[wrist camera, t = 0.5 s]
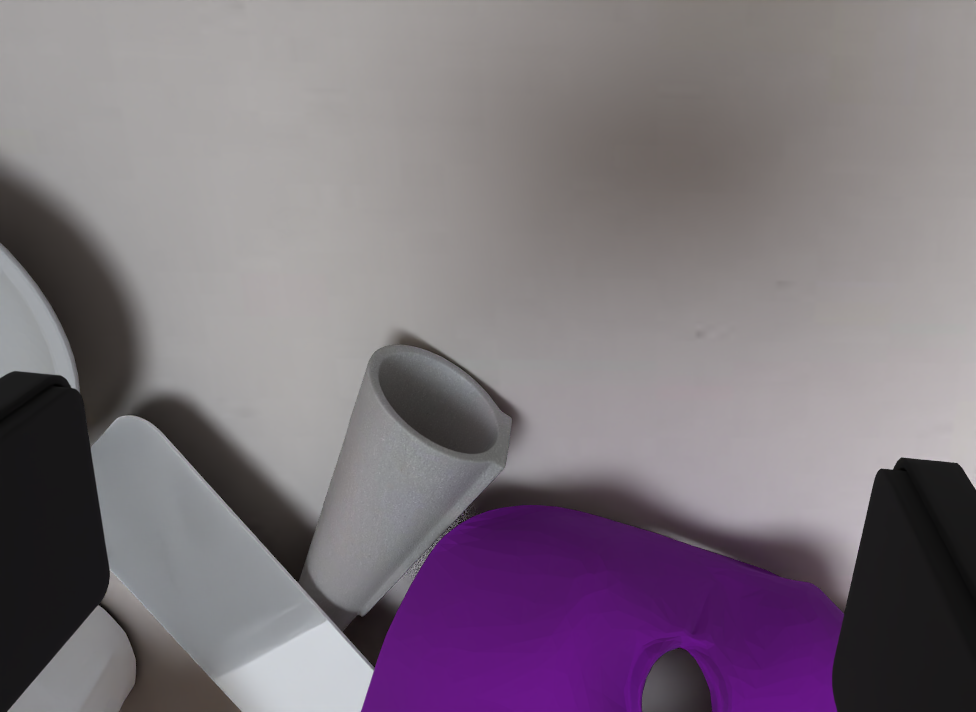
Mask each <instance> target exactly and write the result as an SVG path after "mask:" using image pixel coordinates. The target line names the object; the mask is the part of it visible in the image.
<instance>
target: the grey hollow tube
mask: <svg viewBox="0 0 976 712" xmlns="http://www.w3.org/2000/svg"><path fill="white" fill-rule="evenodd" d="M511 425H512V418H511V417H510V416H508V415H506V414H505V413H503V412H502V411H501V410H500V409H499V408H498V406H497V405H496V404H495V402H494V401H493V400H492V398H491V397H490V396H489V394H488V393H487V392H486V391H485V390H484V389H483V388H482V387H481V386H480V385H479V384H478V383H477V382H476V381H475V380H474V379H473V378H472V377H471V376H470V375H468V374H467V373H466V372H465V371H463V370H462V369H460V368H459V367H458V366H456V365H455V364H453V363H451V362H450V361H448V360H446V359H445V358H443V357H441V356H439V355H437V354H435V353H432V352H430V351H427V350H424V349H421V348H418V347H414V346H409V345H388V346H385V347H382V348H380V349H378V350H377V351H376V352H375V353H374V354H373V355H372V356H371V358H370V360H369V362H368V366H367V369H366V372H365V375H364V378H363V381H362V384H361V388H360V391H359V394H358V397H357V400H356V403H355V406H354V409H353V412H352V415H351V419H350V422H349V426H348V429H347V433H346V436H345V439H344V442H343V446H342V449H341V452H340V455H339V458H338V461H337V464H336V467H335V470H334V473H333V476H332V479H331V482H330V486H329V489H328V492H327V495H326V498H325V502H324V505H323V508H322V511H321V514H320V517H319V520H318V524H317V527H316V530H315V533H314V536H313V539H312V542H311V545H310V548H309V552H308V555H307V558H306V561H305V564H304V567H303V570H302V573H301V576H300V580H299V583H298V584H299V585H300V586H301V587H302V588H303V589H304V590H305V591H306V592H307V594H308V595H309V596H310V597H311V598H312V599H313V600H314V601H315V602H316V604H317V605H318V606H319V607H320V608H321V609H322V610H323V611H324V612H325V614H326V615H327V616H328V617H329V618H330V619H331V620H332V621H333V622H334V623H335V625H336V626H337V627H338V628H339V629H340V630H341V631H342V632H343V631H344V630H345V628H346V627H347V626H348V625H349V624H350V622H351V621H352V620H353V619H354V618H355V617H356V616H357V615H360V616H362V617H364V616H365V615H366V614H367V613H368V612H369V610H370V609H371V608H372V607H373V606H374V605H375V604H376V603H377V602H378V601H379V600H380V599H381V598H382V597H383V596H384V595H385V594H386V593H387V592H388V590H389V589H390V588H391V587H392V586H393V585H394V584H395V583H396V582H397V581H398V580H399V579H400V578H401V577H402V576H403V575H404V574H405V573H406V572H407V570H408V569H409V568H410V567H411V566H412V565H413V564H414V563H415V562H416V561H417V560H418V559H419V558H420V557H421V556H422V555H423V554H424V553H425V551H426V550H427V549H428V548H429V547H430V546H431V545H432V544H433V543H434V542H435V541H436V540H437V539H438V538H439V537H440V536H441V535H442V534H443V533H444V531H445V530H446V529H447V528H448V527H449V526H450V525H451V524H452V523H453V522H454V521H455V520H456V519H457V518H458V517H459V516H460V515H461V514H462V513H463V511H464V510H465V509H466V508H467V507H468V506H469V505H470V504H471V503H472V502H473V501H474V500H475V499H476V498H477V497H478V496H479V495H480V494H481V493H482V491H483V490H484V489H485V488H486V487H487V486H488V485H489V484H490V483H491V482H492V481H493V480H494V479H495V478H496V477H497V476H498V475H499V474H500V472H501V471H502V470H503V469H504V468H505V464H506V459H507V453H508V447H509V441H510V433H511Z"/></svg>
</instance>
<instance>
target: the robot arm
mask: <svg viewBox="0 0 976 712" xmlns="http://www.w3.org/2000/svg"><path fill="white" fill-rule="evenodd" d="M109 578H110V570H109V563H108V556H107V550H106V544H105V537H104V531H103V525H102V518H101V512H100V505H99V499H98V493H97V486H96V480H95V474H94V467H93V461H92V454H91V448H90V442H89V435H88V429H87V422H86V416H85V410H84V403H83V399H82V396H81V394H80V393H79V391H78V390H76V389H75V388H71V386H70V384H69V382H68V381H67V379H66V378H64V377H63V376H61V375H52V374H41V373H31V372H21V371H13V372H10V373H8V374H6V375H5V376H3V377H1V378H0V712H7V711H8V710H9V709H10V708H11V707H12V705H13V704H14V703H15V702H16V701H17V700H18V698H19V697H20V696H21V695H22V694H23V693H24V691H25V690H26V689H27V688H28V687H29V686H30V684H31V683H32V682H33V681H34V680H35V679H36V677H37V676H38V675H39V674H40V673H41V671H42V670H43V669H44V668H45V667H46V666H47V664H48V663H49V662H50V661H51V660H52V659H53V657H54V656H55V655H56V654H57V653H58V652H59V650H60V649H61V648H62V647H63V646H64V645H65V643H66V642H67V641H68V640H69V639H70V637H71V636H72V635H73V634H74V633H75V632H76V630H77V629H78V628H79V627H80V626H81V625H82V623H83V622H84V621H85V620H86V619H87V618H88V616H89V615H90V614H91V613H92V612H93V611H94V609H95V608H96V607H97V606H98V605H99V603H100V602H101V601H102V599H103V598H104V596H105V593H106V591H107V588H108V584H109ZM832 688H833V696H834V701H835V704H836V708H837V712H976V489H975V488H974V486H973V485H972V483H971V482H970V480H969V478H968V477H967V475H966V474H965V472H964V471H963V469H962V467H961V466H960V465H959V464H958V463H951V462H941V461H931V460H920V459H910V458H900V459H899V460H898V461H897V463H896V465H895V467H894V469H893V470H890V469H880V470H879V471H878V472H877V474H876V477H875V480H874V484H873V488H872V493H871V497H870V501H869V506H868V510H867V515H866V519H865V524H864V528H863V533H862V537H861V542H860V546H859V550H858V555H857V559H856V564H855V568H854V573H853V577H852V582H851V586H850V591H849V595H848V599H847V604H846V608H845V613H844V617H843V622H842V626H841V631H840V635H839V640H838V644H837V648H836V653H835V657H834V662H833V670H832Z"/></svg>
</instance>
